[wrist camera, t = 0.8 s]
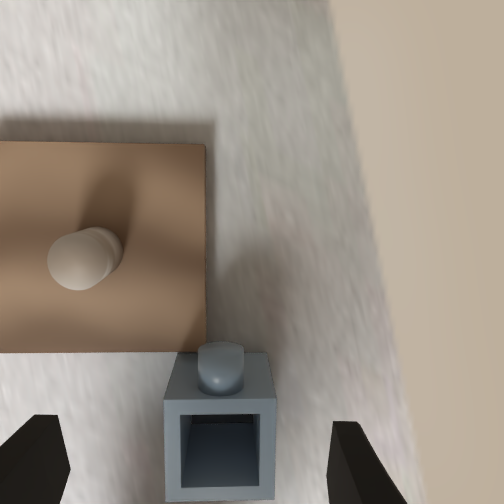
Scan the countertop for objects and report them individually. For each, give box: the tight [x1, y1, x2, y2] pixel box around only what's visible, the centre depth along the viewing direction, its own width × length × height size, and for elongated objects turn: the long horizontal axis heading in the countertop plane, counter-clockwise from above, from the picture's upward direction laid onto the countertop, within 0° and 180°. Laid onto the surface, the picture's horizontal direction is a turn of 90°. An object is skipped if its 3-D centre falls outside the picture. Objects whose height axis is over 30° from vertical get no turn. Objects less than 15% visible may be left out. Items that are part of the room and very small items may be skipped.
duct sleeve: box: [163, 341, 277, 502], centre depth 25 cm, size 8×6×6 cm
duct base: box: [0, 141, 206, 353], centre depth 24 cm, size 12×12×5 cm
